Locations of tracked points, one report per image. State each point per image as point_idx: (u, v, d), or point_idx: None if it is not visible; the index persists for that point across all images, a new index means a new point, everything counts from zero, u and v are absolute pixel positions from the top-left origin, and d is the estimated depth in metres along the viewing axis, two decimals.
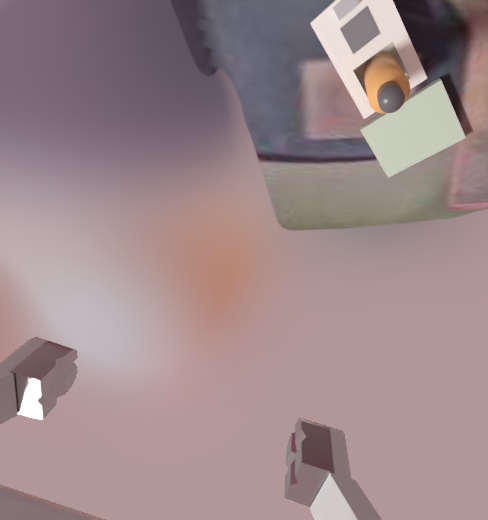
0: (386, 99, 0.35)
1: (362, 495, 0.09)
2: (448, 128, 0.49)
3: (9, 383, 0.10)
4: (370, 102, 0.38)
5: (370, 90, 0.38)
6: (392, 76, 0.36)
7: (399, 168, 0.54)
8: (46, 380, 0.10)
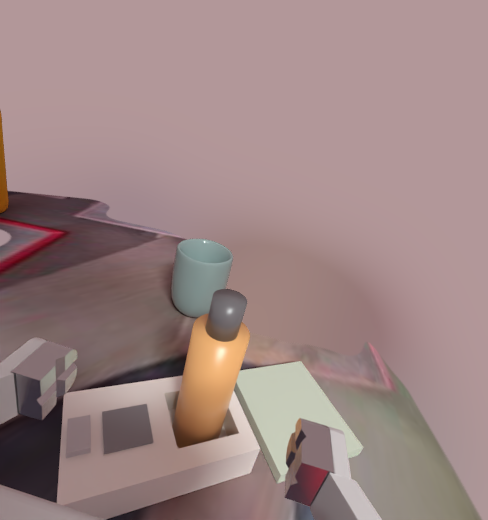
0: (226, 301, 0.23)
1: (362, 495, 0.09)
2: (288, 372, 0.39)
3: (9, 383, 0.10)
4: (227, 349, 0.23)
5: (209, 345, 0.23)
6: (201, 323, 0.25)
7: (345, 429, 0.34)
8: (46, 380, 0.10)
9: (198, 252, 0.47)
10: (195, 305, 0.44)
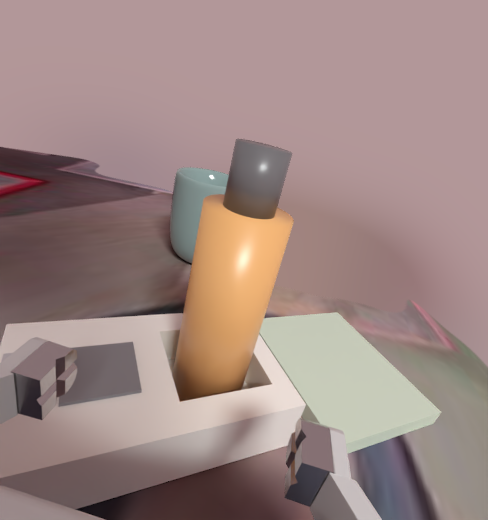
0: (259, 145, 0.14)
1: (362, 495, 0.09)
2: (324, 323, 0.30)
3: (9, 383, 0.10)
4: (262, 225, 0.14)
5: (232, 218, 0.14)
6: (215, 199, 0.16)
7: (412, 389, 0.24)
8: (46, 380, 0.10)
9: None
10: None
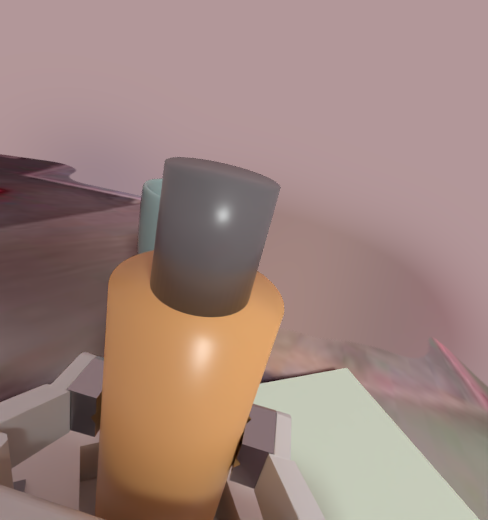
0: (210, 174, 0.07)
1: (299, 475, 0.09)
2: (331, 388, 0.23)
3: (65, 401, 0.09)
4: (216, 340, 0.07)
5: (152, 327, 0.07)
6: (140, 266, 0.09)
7: (456, 504, 0.17)
8: (101, 397, 0.10)
9: None
10: None
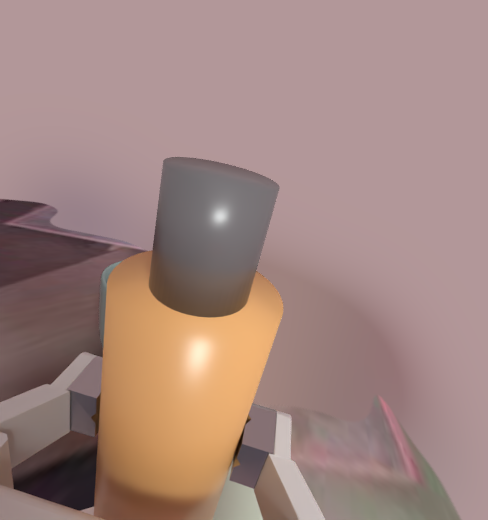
0: (209, 174, 0.07)
1: (299, 475, 0.09)
2: None
3: (65, 401, 0.09)
4: (214, 341, 0.07)
5: (150, 327, 0.07)
6: (139, 266, 0.09)
7: None
8: None
9: None
10: None
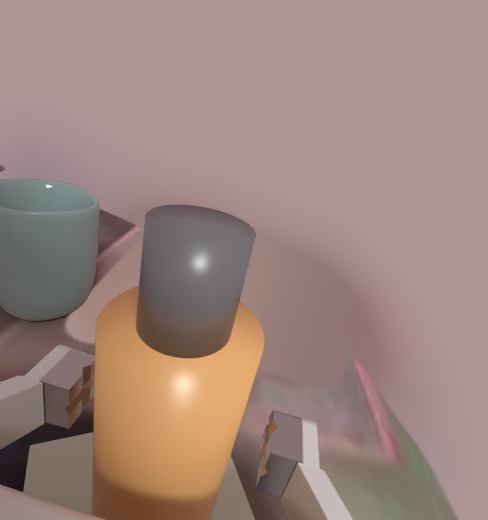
0: (188, 228, 0.07)
1: (329, 484, 0.09)
2: None
3: (38, 392, 0.09)
4: (195, 384, 0.07)
5: (135, 373, 0.07)
6: (127, 305, 0.09)
7: None
8: (74, 389, 0.10)
9: (46, 204, 0.26)
10: (18, 299, 0.23)
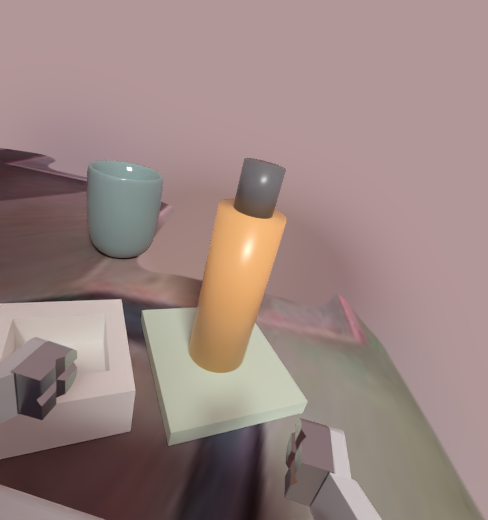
0: (261, 164, 0.19)
1: (362, 495, 0.09)
2: None
3: (9, 383, 0.10)
4: (263, 223, 0.19)
5: (241, 217, 0.19)
6: (227, 203, 0.21)
7: (286, 379, 0.25)
8: (46, 380, 0.10)
9: None
10: (113, 239, 0.35)
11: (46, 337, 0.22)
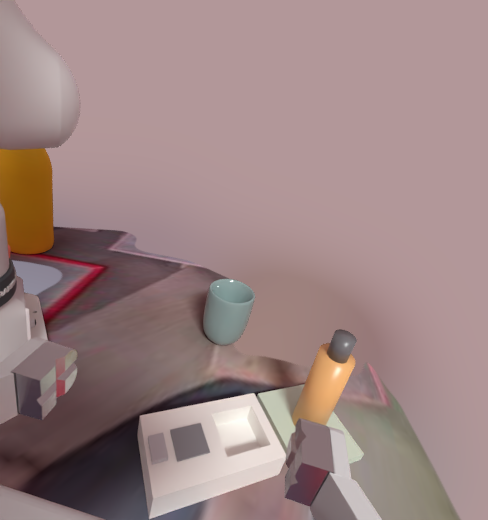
0: (344, 339, 0.38)
1: (362, 495, 0.09)
2: None
3: (9, 383, 0.10)
4: (346, 368, 0.37)
5: (335, 366, 0.37)
6: (323, 351, 0.39)
7: (349, 439, 0.43)
8: (46, 380, 0.10)
9: (225, 290, 0.57)
10: (224, 336, 0.53)
11: (222, 420, 0.41)
